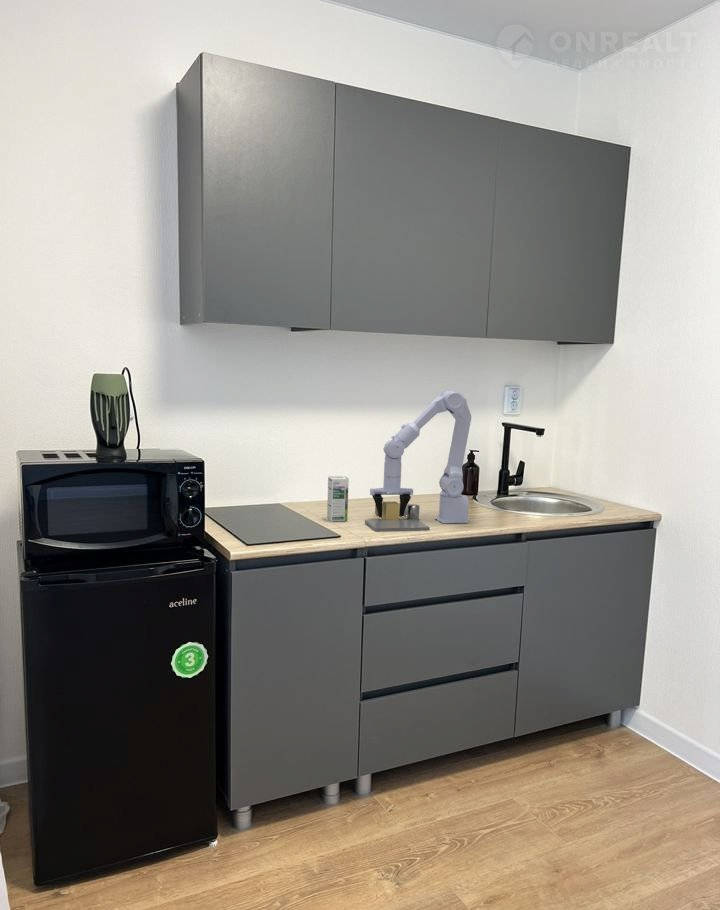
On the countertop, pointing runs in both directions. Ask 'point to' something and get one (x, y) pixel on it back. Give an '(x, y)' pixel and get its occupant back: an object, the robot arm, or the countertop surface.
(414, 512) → the dark metal cylinder
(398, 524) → the slate board
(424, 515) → the countertop surface
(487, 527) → the countertop surface
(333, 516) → the syrup box
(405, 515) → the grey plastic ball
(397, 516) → the ochre block
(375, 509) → the walnut block
